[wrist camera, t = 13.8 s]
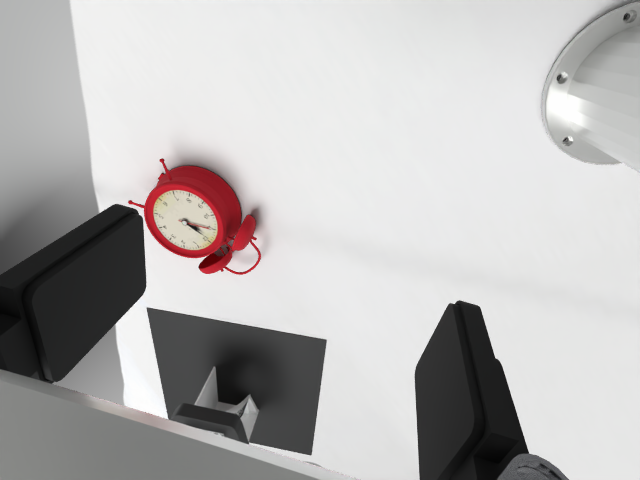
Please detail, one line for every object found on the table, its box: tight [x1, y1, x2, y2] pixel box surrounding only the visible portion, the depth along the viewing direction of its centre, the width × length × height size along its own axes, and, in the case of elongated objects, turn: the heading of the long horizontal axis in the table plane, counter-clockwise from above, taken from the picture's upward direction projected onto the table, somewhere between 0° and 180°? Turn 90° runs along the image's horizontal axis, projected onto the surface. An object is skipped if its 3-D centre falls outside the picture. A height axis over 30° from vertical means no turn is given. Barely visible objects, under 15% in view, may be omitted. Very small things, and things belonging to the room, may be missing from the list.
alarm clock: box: [128, 158, 261, 275], centre depth 42 cm, size 10×6×15 cm
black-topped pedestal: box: [147, 308, 326, 455], centre depth 53 cm, size 28×26×13 cm
